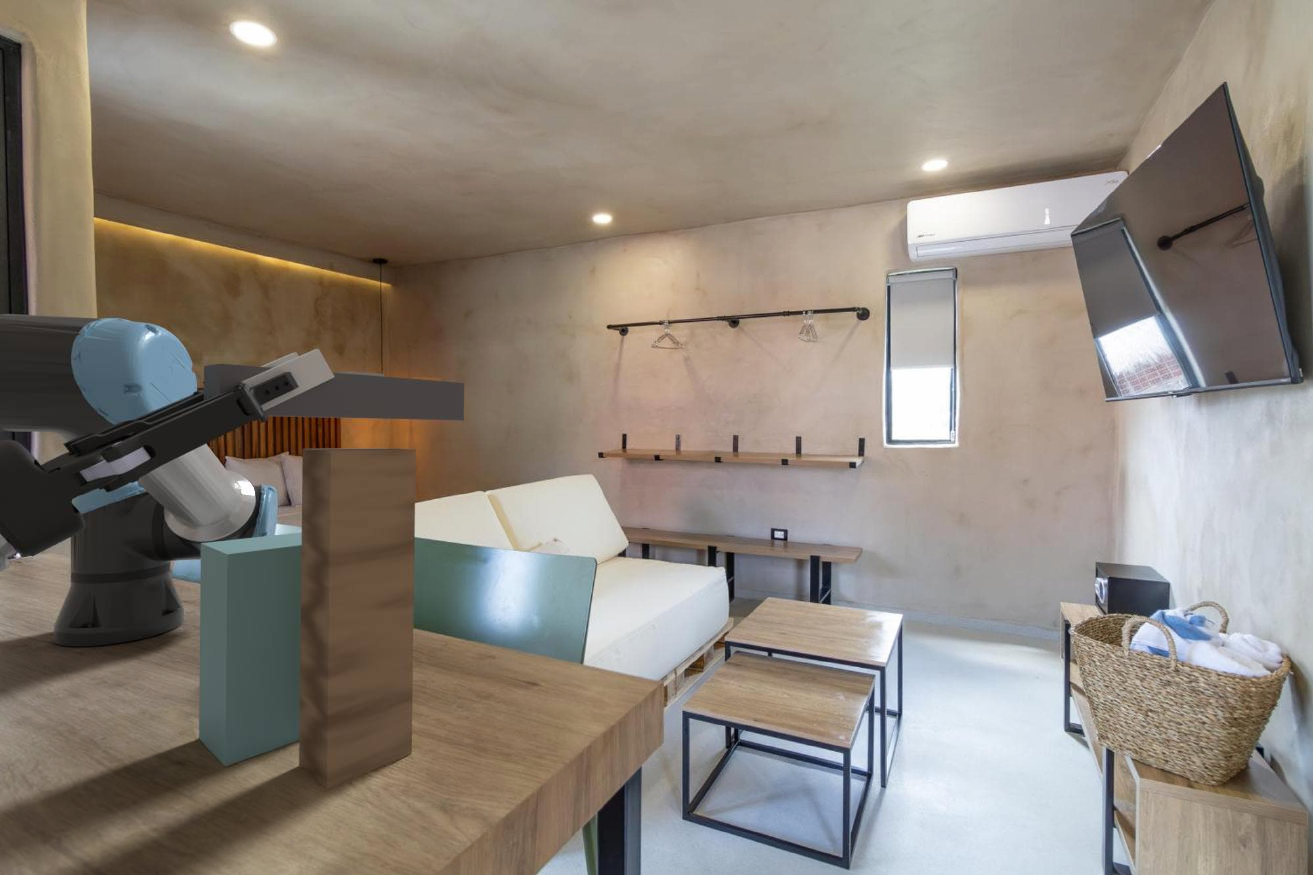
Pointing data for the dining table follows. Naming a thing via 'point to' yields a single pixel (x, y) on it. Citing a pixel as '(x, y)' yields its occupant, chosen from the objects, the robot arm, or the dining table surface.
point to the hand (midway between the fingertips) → (312, 364)
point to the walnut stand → (356, 610)
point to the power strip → (354, 395)
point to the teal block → (250, 645)
